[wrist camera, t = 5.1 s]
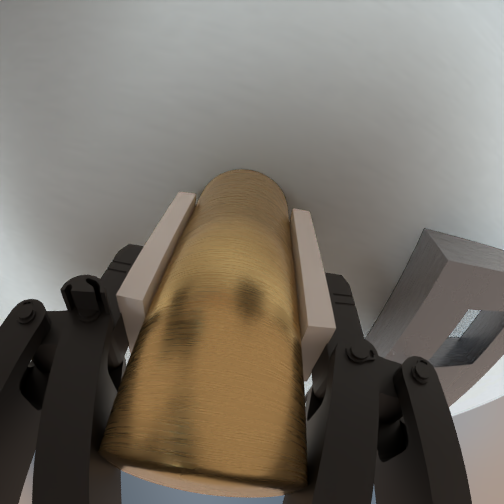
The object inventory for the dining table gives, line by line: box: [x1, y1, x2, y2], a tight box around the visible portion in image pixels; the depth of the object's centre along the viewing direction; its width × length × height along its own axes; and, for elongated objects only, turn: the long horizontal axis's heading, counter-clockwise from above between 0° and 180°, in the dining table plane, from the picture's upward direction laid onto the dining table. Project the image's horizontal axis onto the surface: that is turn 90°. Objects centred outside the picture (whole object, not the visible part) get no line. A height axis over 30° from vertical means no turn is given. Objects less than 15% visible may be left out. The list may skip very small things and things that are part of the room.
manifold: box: [365, 228, 504, 407], centre depth 17 cm, size 20×14×8 cm
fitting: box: [98, 169, 308, 497], centre depth 9 cm, size 4×4×12 cm
